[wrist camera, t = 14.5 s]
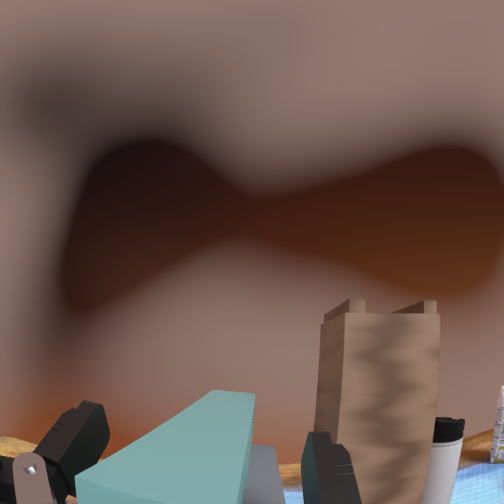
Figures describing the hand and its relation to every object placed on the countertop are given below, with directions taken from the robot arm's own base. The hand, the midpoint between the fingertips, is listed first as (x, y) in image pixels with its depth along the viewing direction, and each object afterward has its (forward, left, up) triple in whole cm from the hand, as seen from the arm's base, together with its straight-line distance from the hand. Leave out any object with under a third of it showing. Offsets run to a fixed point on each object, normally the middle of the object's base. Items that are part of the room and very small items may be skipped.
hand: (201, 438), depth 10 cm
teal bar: (0, +7, -4) cm, 8 cm away
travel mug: (+28, +26, -26) cm, 46 cm away
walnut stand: (+12, +14, -25) cm, 32 cm away
